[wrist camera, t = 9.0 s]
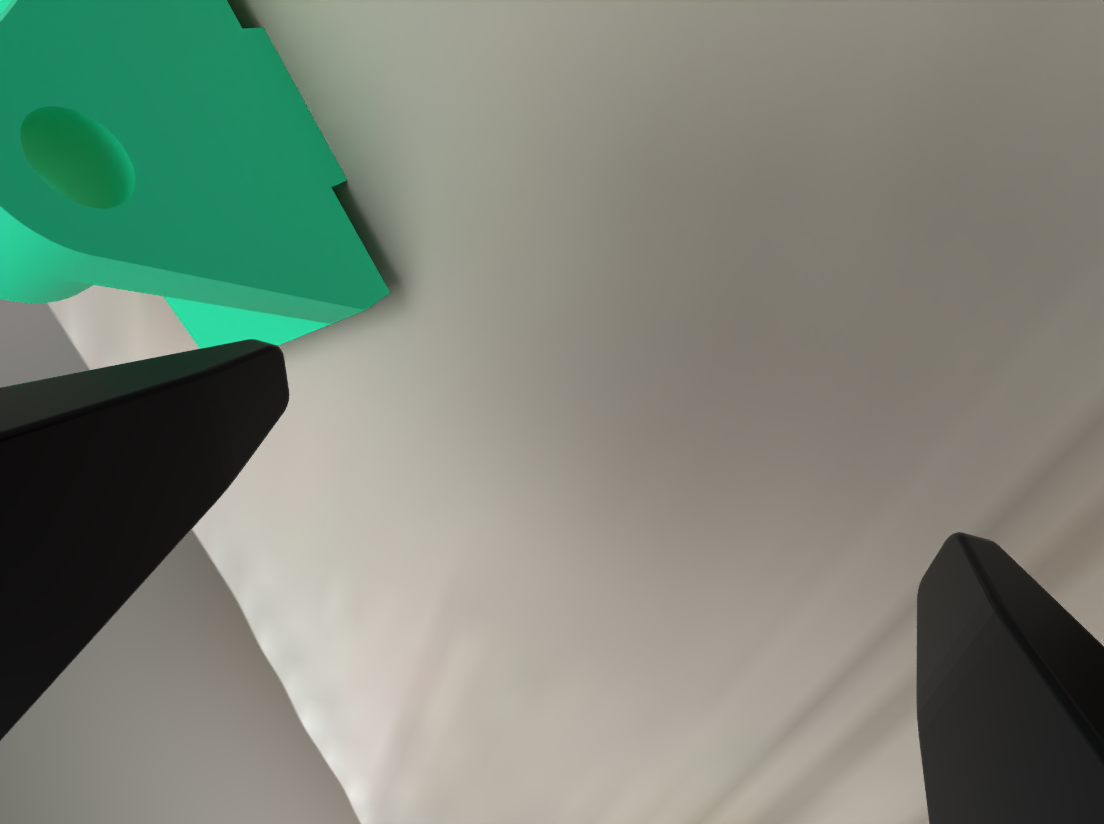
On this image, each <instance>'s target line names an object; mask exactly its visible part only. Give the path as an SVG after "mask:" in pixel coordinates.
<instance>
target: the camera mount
mask: <svg viewBox="0 0 1104 824" xmlns="http://www.w3.org/2000/svg"><path fill="white" fill-rule="evenodd" d="M345 181H347V179H346V177H345V175H344V173H343V172H342V170H341V168H340V166H339V164H338V162H337V161H336V159H335V157H334V155H333V153H332V151H331V150H330V148H329V146H328V144H327V142H326V141H325V139H324V137H323V135H322V133H321V131H320V130H319V128H318V126H317V124H316V122H315V120H314V119H313V117H312V115H311V113H310V111H309V110H308V108H307V106H306V104H305V102H304V100H303V99H302V97H301V95H300V93H299V91H298V89H297V88H296V86H295V84H294V82H293V80H292V78H291V77H290V75H289V73H288V71H287V69H286V68H285V66H284V64H283V62H282V60H281V58H280V57H279V55H278V53H277V51H276V49H275V47H274V46H273V44H272V42H271V40H270V38H269V37H268V35H267V33H266V31H265V29H264V27H262V28H243V29H242V27H241V25H240V23H239V21H238V20H237V18H236V16H235V14H234V12H233V11H232V9H231V7H230V5H229V3H228V2H227V0H0V299H4V300H9V301H16V302H24V303H48V302H54V301H59V300H63V299H67V298H69V297H72V296H74V295H77V294H78V293H80V292H82V291H84V290H85V289H87V288H89V287H91V286H92V285H99V286H105V287H111V288H117V289H123V290H129V291H135V292H141V293H147V294H153V295H159V296H163V297H164V298H165V300H166V301H167V303H168V304H169V305H170V307H171V308H172V310H173V311H174V313H175V314H176V315H177V317H178V318H179V320H180V321H181V322H182V324H183V325H184V327H185V328H186V330H187V331H188V332H189V334H190V335H191V337H192V338H193V340H194V341H195V342H196V344H197V345H198V346H199V348H200V349H202V348H207V347H212V346H217V345H222V344H227V343H233V342H238V341H243V340H248V339H256V340H259V341H263V342H267V343H270V344H274V345H277V346H278V345H280V344H283V343H285V342H288V341H290V340H293V339H295V338H298V337H300V336H303V335H305V334H308V333H310V332H313V331H315V330H318V329H320V328H323V327H325V326H328V325H331V324H333V323H336V322H338V321H341V320H343V319H346V318H348V317H351V316H353V315H356V314H358V313H361V312H363V311H366V310H367V309H368V308H370V307H371V306H373V305H374V304H375V303H377V302H378V301H380V300H381V299H382V298H384V297H385V296H387V295H388V294H389V293H390V291H389V290H388V288H387V286H386V284H385V282H384V281H383V279H382V277H381V275H380V274H379V272H378V270H377V268H376V266H375V265H374V263H373V261H372V259H371V257H370V256H369V254H368V252H367V250H366V248H365V247H364V245H363V243H362V241H361V240H360V238H359V236H358V234H357V232H356V231H355V229H354V227H353V225H352V223H351V222H350V220H349V218H348V216H347V214H346V213H345V211H344V209H343V207H342V206H341V204H340V202H339V200H338V198H337V197H336V195H335V193H334V191H333V189H332V188H334V187H335V186H337V185H339V184H341V183H343V182H345Z"/></svg>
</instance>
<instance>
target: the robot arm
mask: <svg viewBox="0 0 1104 824" xmlns="http://www.w3.org/2000/svg"><path fill="white" fill-rule="evenodd" d="M288 401H289V388H288V381H287V374H286V367H285V360H284V355H283V352H282V350H281V349H280V348H279V347H278V346H277V345H274V344H270V343H267V342H263V341H259V340H256V339H248V340H243V341H238V342H233V343H227V344H222V345H217V346H212V347H207V348H202V349H197V350H191V351H186V352H181V353H176V354H171V355H166V356H161V357H156V358H150V359H145V360H140V361H135V362H130V363H125V364H120V365H115V366H109V367H104V368H99V369H94V370H89V371H84V372H79V373H74V374H68V375H64V376H58V377H53V378H48V379H43V380H38V381H32V382H27V383H22V384H17V385H12V386H7V387H2V388H0V741H1V740H2V739H3V738H4V736H5V735H6V734H7V733H8V732H9V731H10V730H11V729H12V728H13V727H14V725H15V724H16V723H17V722H18V721H19V720H20V719H21V718H22V717H23V715H24V714H25V713H26V712H27V711H28V710H29V709H30V708H31V707H32V705H33V704H34V703H35V702H36V701H37V700H38V699H39V698H40V697H41V695H42V694H43V693H44V692H45V691H46V690H47V689H48V688H49V686H50V685H51V684H52V683H53V682H54V681H55V680H56V679H57V678H58V677H59V675H60V674H61V673H62V672H63V671H64V670H65V669H66V668H67V666H68V665H69V664H70V663H71V662H72V661H73V660H74V659H75V658H76V657H77V655H78V654H79V653H80V652H81V651H82V650H83V649H84V648H85V647H86V645H87V644H88V643H89V642H90V641H91V640H92V639H93V638H94V637H95V636H96V634H97V633H98V632H99V631H100V630H101V629H102V628H103V627H104V626H105V625H106V623H107V622H108V621H109V620H110V619H111V618H112V617H113V616H114V615H115V613H116V612H117V611H118V610H119V609H120V608H121V606H123V605H124V603H125V602H126V601H127V600H128V599H129V598H130V597H131V596H132V595H133V593H134V592H135V591H136V590H137V589H138V588H139V587H140V586H141V585H142V583H143V582H144V581H145V580H146V579H147V578H148V577H149V576H150V575H151V574H152V572H153V571H154V570H155V569H156V568H157V567H158V566H159V565H160V564H161V562H162V561H163V560H164V559H165V558H166V557H167V556H168V555H169V554H170V552H171V551H172V550H173V549H174V548H175V547H176V546H177V545H178V543H179V542H180V541H181V540H182V539H183V538H184V537H185V536H186V535H187V534H188V532H189V531H190V530H191V529H192V528H193V527H194V526H195V525H196V524H197V523H198V521H199V520H200V519H201V518H202V517H203V516H204V515H205V514H206V513H207V511H208V510H209V509H210V508H211V507H212V506H213V505H214V504H215V503H216V501H217V500H218V499H219V498H220V497H221V496H222V494H223V493H224V492H225V491H226V490H227V489H228V487H229V486H230V485H231V483H232V482H233V481H234V480H235V478H236V477H237V476H238V474H239V473H240V472H241V470H242V469H243V468H244V466H245V465H246V463H247V462H248V461H249V459H250V458H251V457H252V455H253V454H254V452H255V451H256V450H257V448H258V447H259V446H260V444H261V443H262V442H263V440H264V439H265V437H266V436H267V435H268V433H269V432H270V431H271V429H272V428H273V426H274V425H275V424H276V422H277V421H278V420H279V418H280V417H281V416H282V414H283V413H284V411H285V409H286V407H287V405H288ZM917 720H918V731H919V741H920V749H921V757H922V766H923V774H924V782H925V791H926V799H927V807H928V815H929V824H1104V646H1103V645H1102V644H1101V643H1100V642H1099V641H1098V640H1097V639H1095V638H1094V637H1093V636H1092V635H1091V634H1090V633H1089V632H1088V631H1087V630H1086V629H1085V628H1084V627H1083V626H1082V625H1081V624H1080V623H1079V622H1078V621H1077V620H1076V619H1075V618H1074V617H1073V616H1072V615H1071V614H1069V613H1068V612H1067V611H1066V610H1065V609H1064V608H1063V607H1062V606H1061V605H1060V604H1059V603H1058V602H1057V601H1056V600H1055V599H1054V598H1053V597H1052V596H1051V595H1050V594H1049V593H1048V592H1047V591H1046V590H1044V589H1043V588H1042V587H1041V586H1040V585H1039V584H1038V583H1037V582H1036V581H1035V580H1034V579H1033V578H1032V577H1031V576H1030V575H1029V574H1028V573H1027V572H1026V571H1025V570H1024V569H1023V568H1022V567H1021V566H1019V565H1018V564H1017V563H1016V562H1015V561H1014V560H1013V559H1012V558H1011V557H1010V556H1009V555H1008V554H1007V553H1006V552H1005V551H1004V550H1003V549H1002V548H1001V547H1000V546H999V545H997V544H996V543H995V542H993V541H991V540H988V539H984V538H980V537H977V536H973V535H969V534H965V533H962V532H958V533H954V534H952V535H951V536H949V537H948V538H947V540H946V541H945V543H944V544H943V546H942V547H941V549H940V551H939V552H938V554H937V555H936V557H935V559H934V560H933V562H932V563H931V565H930V567H929V568H928V570H927V571H926V573H925V575H924V576H923V578H922V580H921V582H920V585H919V589H918V594H917Z"/></svg>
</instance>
